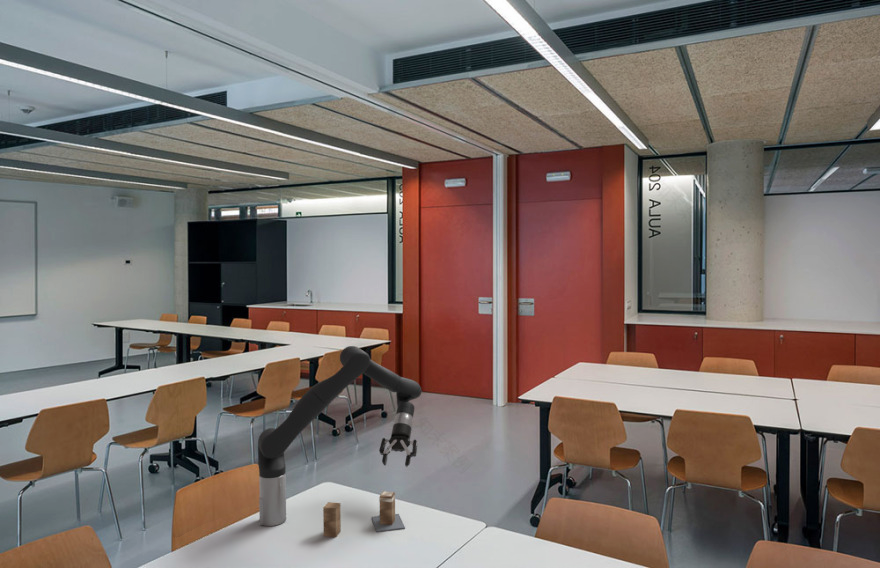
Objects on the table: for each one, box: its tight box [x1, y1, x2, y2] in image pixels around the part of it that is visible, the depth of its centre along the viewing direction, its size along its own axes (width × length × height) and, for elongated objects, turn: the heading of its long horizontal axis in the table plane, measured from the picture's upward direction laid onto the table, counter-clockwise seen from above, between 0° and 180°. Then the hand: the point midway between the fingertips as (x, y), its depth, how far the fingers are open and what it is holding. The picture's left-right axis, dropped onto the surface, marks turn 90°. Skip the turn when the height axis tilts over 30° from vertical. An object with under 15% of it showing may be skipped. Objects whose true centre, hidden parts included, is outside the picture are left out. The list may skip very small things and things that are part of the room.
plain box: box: [322, 501, 342, 538], centre depth 199 cm, size 4×4×10 cm
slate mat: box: [371, 513, 406, 533], centre depth 208 cm, size 10×12×1 cm
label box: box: [378, 491, 396, 525], centre depth 208 cm, size 5×5×10 cm
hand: (395, 465), depth 219 cm, fingers open, 8 cm apart
